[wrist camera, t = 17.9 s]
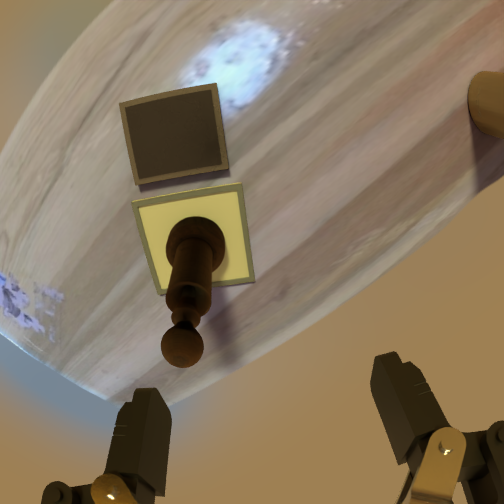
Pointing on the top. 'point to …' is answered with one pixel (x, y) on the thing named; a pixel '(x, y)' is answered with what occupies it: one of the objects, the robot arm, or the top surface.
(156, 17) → the top surface
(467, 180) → the top surface
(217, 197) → the print card
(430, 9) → the top surface
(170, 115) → the ink pad
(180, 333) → the brown wooden stamp
